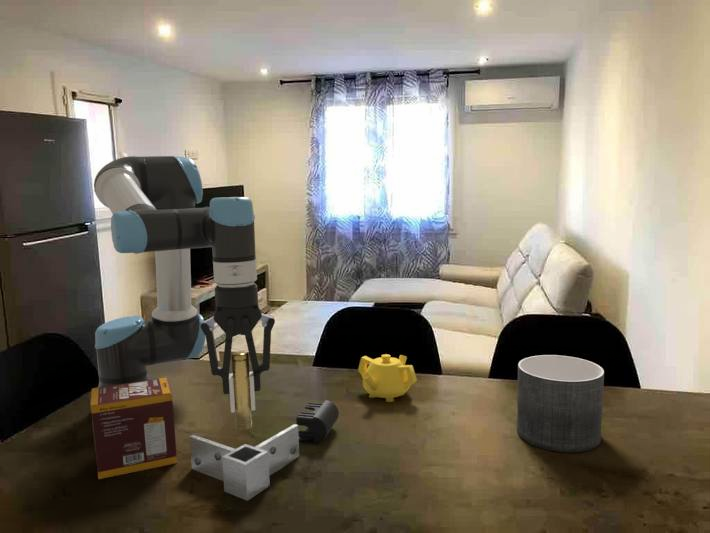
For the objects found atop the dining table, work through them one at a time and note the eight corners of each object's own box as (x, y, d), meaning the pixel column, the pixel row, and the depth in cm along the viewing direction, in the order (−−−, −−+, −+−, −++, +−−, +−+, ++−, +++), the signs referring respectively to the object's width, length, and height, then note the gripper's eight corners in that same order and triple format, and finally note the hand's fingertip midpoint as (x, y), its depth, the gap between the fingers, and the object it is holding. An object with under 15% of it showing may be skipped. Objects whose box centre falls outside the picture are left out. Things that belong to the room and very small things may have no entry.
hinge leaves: (181, 474, 112) (179, 441, 111) (246, 439, 127) (244, 409, 126) (247, 500, 103) (245, 464, 101) (308, 459, 117) (307, 427, 116)
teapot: (379, 378, 165) (378, 341, 163) (433, 390, 154) (433, 350, 153) (337, 400, 149) (336, 359, 147) (395, 415, 138) (394, 371, 137)
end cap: (327, 447, 123) (326, 418, 122) (296, 444, 124) (295, 415, 123) (339, 428, 132) (338, 400, 131) (310, 425, 134) (309, 398, 133)
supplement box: (97, 457, 120) (91, 387, 118) (172, 442, 126) (167, 376, 124) (96, 480, 111) (89, 405, 109) (177, 463, 117) (172, 391, 115)
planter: (613, 432, 126) (616, 365, 124) (582, 462, 114) (585, 388, 111) (537, 412, 139) (539, 350, 136) (502, 436, 126) (503, 369, 123)
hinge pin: (235, 430, 103) (231, 356, 101) (236, 424, 106) (231, 352, 104) (252, 429, 103) (248, 355, 101) (252, 422, 106) (248, 350, 104)
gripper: (187, 290, 96) (196, 421, 99) (282, 284, 99) (288, 412, 102) (191, 282, 103) (199, 405, 106) (279, 277, 106) (285, 397, 109)
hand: (243, 408), depth 104 cm, fingers closed on hinge pin, 3 cm apart
